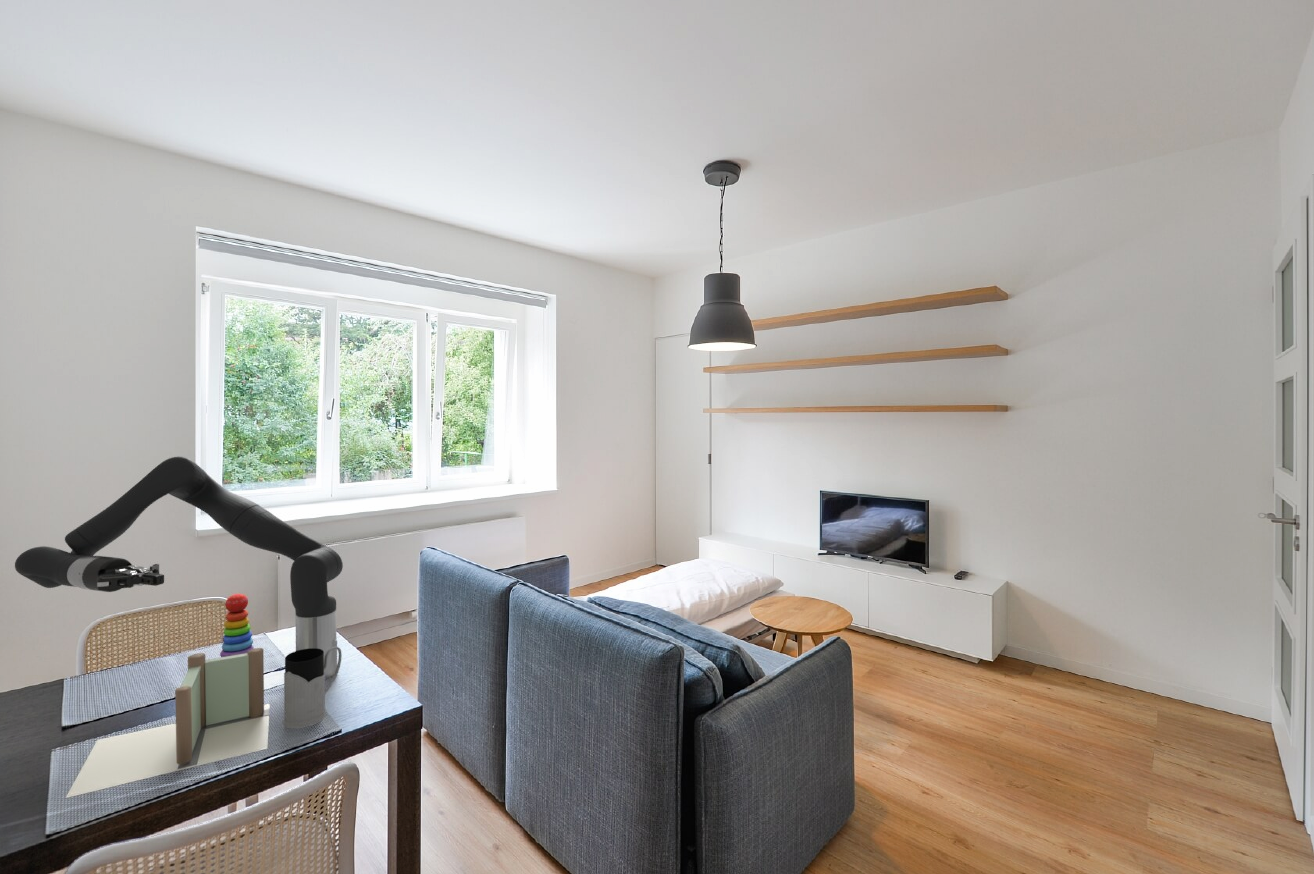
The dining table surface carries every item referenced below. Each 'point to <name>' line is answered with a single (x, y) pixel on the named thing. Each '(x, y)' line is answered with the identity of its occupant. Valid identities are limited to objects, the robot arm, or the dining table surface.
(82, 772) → the card
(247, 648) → the stacking toy
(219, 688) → the fixed fence
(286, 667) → the grey and black mug
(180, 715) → the fence panel
